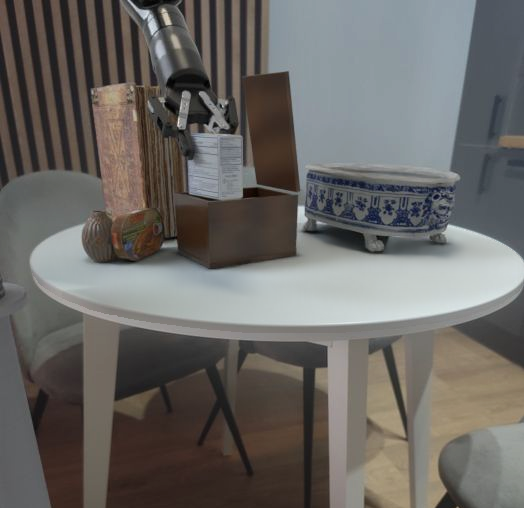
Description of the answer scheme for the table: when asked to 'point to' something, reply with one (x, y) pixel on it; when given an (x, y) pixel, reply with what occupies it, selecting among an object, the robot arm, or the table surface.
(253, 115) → the lid
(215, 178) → the medicine box
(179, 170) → the book
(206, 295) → the table surface
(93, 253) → the vase
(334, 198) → the decorative bowl
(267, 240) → the chest
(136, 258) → the tin
